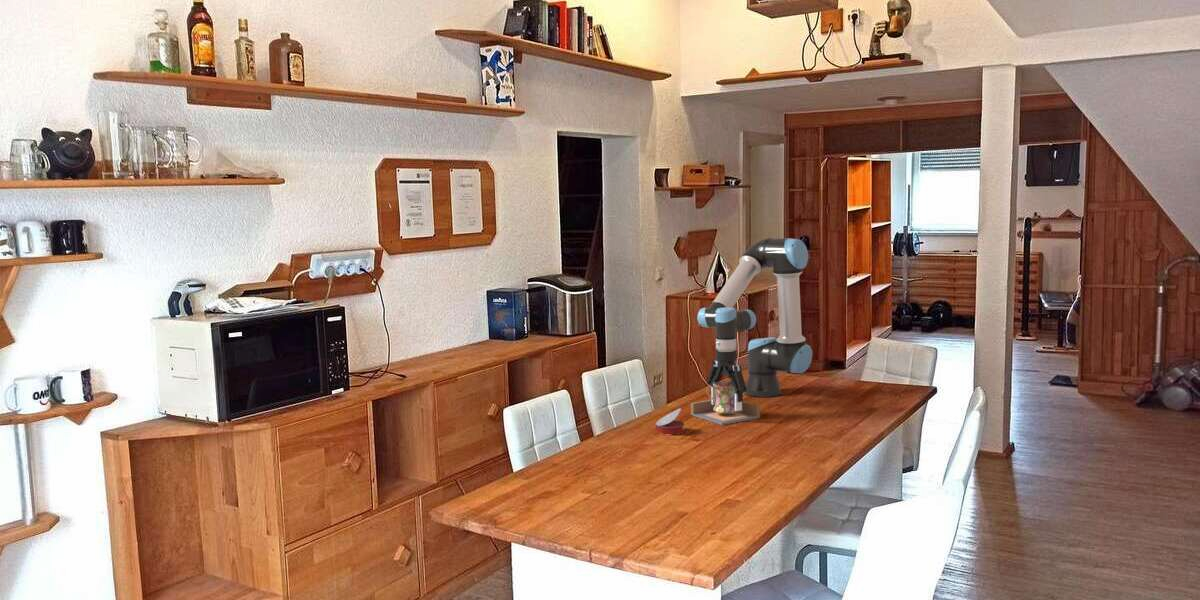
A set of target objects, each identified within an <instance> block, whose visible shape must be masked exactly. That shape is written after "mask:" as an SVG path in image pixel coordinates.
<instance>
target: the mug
mask: <svg viewBox="0 0 1200 600" xmlns="http://www.w3.org/2000/svg"><path fill="white" fill-rule="evenodd" d="M713 386H714V387H713ZM713 386H710V385H708V386H707V387H706V389H705V391H706V393H707V395H708V397H709V398H710V400H711V399H713V400H714V401H715V402H716V403H715V402H714V403H715V406H714V408H713V410H714V411H715V412H718V413H722V414H730V413H734V412H736V411H735V403H734V398H735V392H736V391H735V388H734V386H733V384H732V382H731V381H726V380H725V381H721V380H720V381H719V382H714V383H713ZM711 387H712V388H713V389H714V390H715V392H716V400H715V399H714V398H712V397H711V393H709V390H708V388H711Z"/></svg>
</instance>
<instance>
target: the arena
mask: <svg viewBox="0 0 1200 600" xmlns="http://www.w3.org/2000/svg"><path fill="white" fill-rule="evenodd" d="M734 403H735V398H734ZM714 406H715V404H714V405H712V401H711V399H706V400H701V401H700V400H699V401H693V402H690V416H691V415H693V416H696V417H699V418H702V419H705V420H708V421H707V422H709V421H711V422H710V423H712V422H714V423H713V424H715V423H717V424H716V425H718V424H720V425H719V426H726V424H727V425H732V424H736V422H738V423H742V421H743V422H748V420H749V421H754V420H758V418H759V419H760V417H761V406H760V404H757V403H753V402H750V401H746V400H743V401H742V410H740V411H736V412H734V413H730V414H722V413H718V412H715V411H714V410H713V408H714ZM696 417H695V418H696ZM699 418H698V419H699ZM702 419H701V420H702ZM705 420H704V421H705ZM731 423H732V424H731Z"/></svg>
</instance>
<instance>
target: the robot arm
mask: <svg viewBox="0 0 1200 600" xmlns="http://www.w3.org/2000/svg"><path fill="white" fill-rule="evenodd" d="M808 252H809V251H808V249H807V246H806V244H805V243H804V242H803V241H802V240H801V239H799V238H791V237H789V238H787V237H786V238H784V237H781V238H771V237H769V238H768V237H767V238H763V239H760V240H758V241H756V242H754V243H753V244H752V245H751V246H749V248H747V249H746V250H745V251H744V252H743V253H742V255H741V257H739V260H738V265H737V266H736V268H735V269H734V270H733V272H732V274H730V276H729V278H728V280H727V281H726V283H725V284H724V285H723V286H722V288H721V290H720V291H719V293H717V295H716V297H715V299H714V300H713V301H712V303H711V304H710V306H708V307H702V308H699V311H698V313H697V322H698V324H699V326H700V327H702V328H708V329H715V350H716V351H715V360H712V361H711V368H710V370H709V373H708V377H707V379H706V380H707V381H706V385H708V386H713V383H714V382H720V381H721V379H722V377H723V376H725V377H727V378H729V381H730V382H732V384H733V386H734V388H735V391H736V392H735V411H740V410H742V401H744V399H743V398H744V397H743V395H745V396H749V397H754V396H756V397H757V398H772V396H773V397H778V396H781V394H782V387H781V385H780V382H779V381H780V380H779V379H778V376H777V375H778V372H784V373H785V372H786V373H791V374H803V373H805V372H806V371H807V370H808V369H809V368H810V365H811V364H812V359H813V349H812V347H811V346H810V345H809V344H807V339H806V337H805V336H804V335H803V334H802V313H801V311H802V310H801V293H800V292H801V291H800V276H801V274H803V272H804V269H805V268H806V266H807V264H808V261H809V253H808ZM765 268H766V269H767V268H771V269H772V274H773V275H774V276H775V277H776V285H777V304H778V305H777V307H778V323H779V324H778V325H779V336H778V337H777V338H776V337H764V338H762V337H761V338H755V339H751V340H750V341H749V342H748V344H747V345H748V346H747V347H748V348H747V361H748V362H747V364H748V366H747V369H748V371H747V372H748V373H747V377H746V381H745V379H744V376H743V372H742V366H741V365H740V364H738V365H736V364H735V362H736V360H737V344H738V343H737V332H742V331H743V332H744V331H748V330H751V329H753V328H754V327H756V326H755V325H756V324H757V316H756V314H755V313H754V312H753V311H752V310H751V309H742V310H737V309H736V308H735V307H734V306H735V304H736V303H737V302H738V301H739V299H740V297H741V296H742V294H743V293H744V291H745V290H746V289H747V287H748V285H749V284H750V282H751V281H752V280H753V278H754V277H755V276H756V275H758V274H760V273H761V271H762V270H763V269H765ZM777 371H778V372H777ZM713 387H714V386H713ZM744 393H745V394H744ZM710 396H711V397H712V398H714V399H715V400H716V392H715V390H714V389H713V388H712V387H710ZM710 400H711V401H712V405H714V404H715V403H716V402H715V401H714V400H713V399H711V398H710ZM714 402H715V403H714Z"/></svg>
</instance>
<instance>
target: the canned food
mask: <svg viewBox="0 0 1200 600" xmlns="http://www.w3.org/2000/svg"><path fill="white" fill-rule="evenodd" d="M681 411H682V408H678V409H676V410H674V411H672V412H670V413H667V414H666V415H664V416H662V417H661V418H659V419H658V421H656V422H655V432H656V431H657V432H658V433H662V434H678V433H682V432H684V433H685V429H684V428H685V423H684V422H683V421H680V420H676V419H677V417H678V416H679V414H680V412H681ZM658 433H657V434H658ZM662 434H661V435H662ZM682 434H683V433H682ZM678 435H679V434H678Z"/></svg>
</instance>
